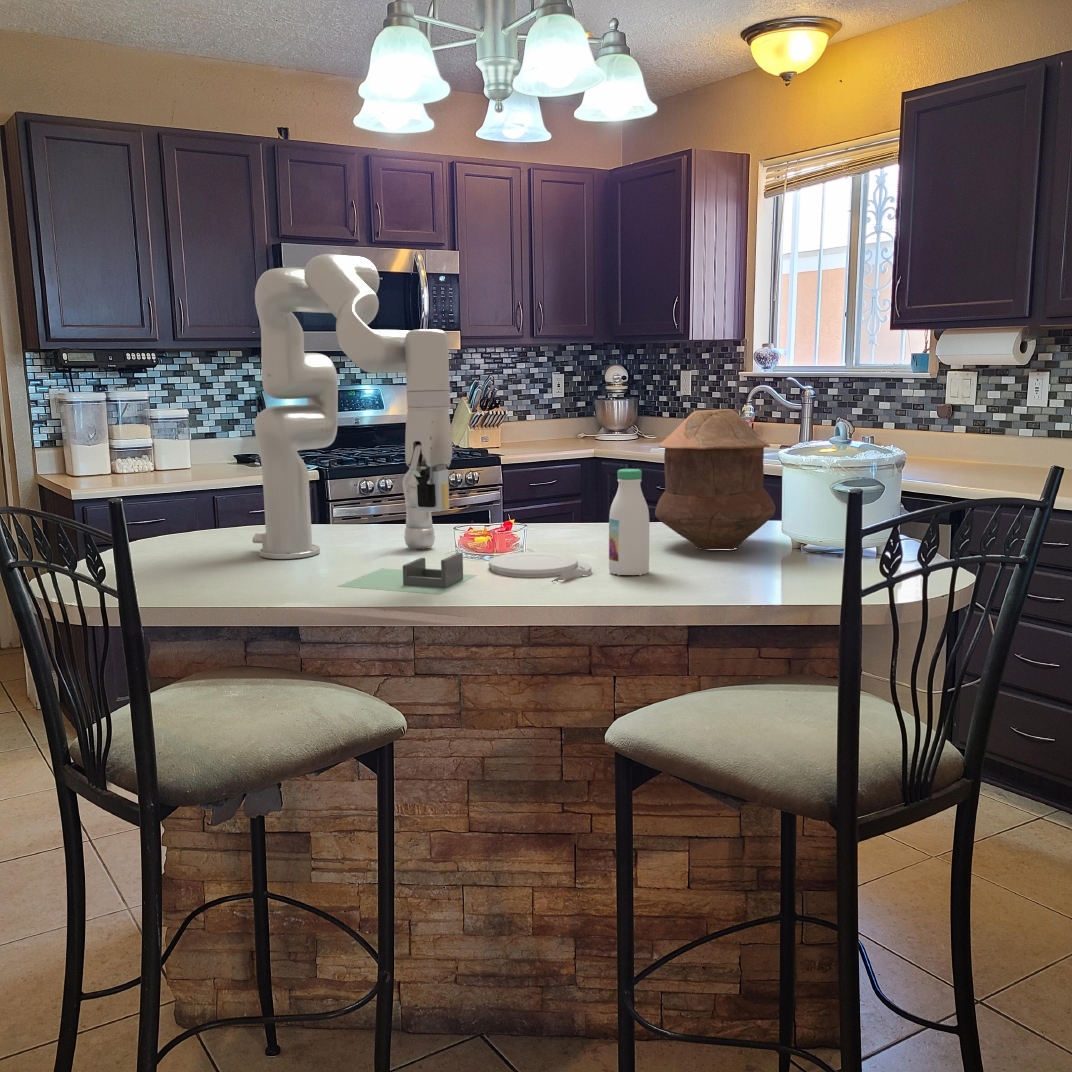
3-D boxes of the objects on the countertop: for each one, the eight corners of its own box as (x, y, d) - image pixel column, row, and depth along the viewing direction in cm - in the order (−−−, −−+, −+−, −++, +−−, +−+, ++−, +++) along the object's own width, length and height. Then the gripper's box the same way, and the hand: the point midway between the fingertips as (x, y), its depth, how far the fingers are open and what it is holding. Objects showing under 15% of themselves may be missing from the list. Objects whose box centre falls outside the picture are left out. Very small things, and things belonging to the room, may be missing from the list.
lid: (601, 582, 185) (601, 566, 184) (495, 587, 181) (494, 571, 181) (581, 564, 201) (581, 549, 201) (483, 568, 198) (483, 553, 197)
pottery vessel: (778, 561, 200) (783, 412, 195) (651, 558, 205) (652, 412, 200) (770, 538, 226) (775, 405, 220) (657, 536, 230) (659, 406, 225)
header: (403, 585, 177) (402, 557, 176) (422, 576, 184) (421, 550, 183) (445, 588, 174) (445, 560, 173) (463, 579, 181) (462, 552, 180)
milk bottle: (652, 569, 194) (654, 468, 190) (643, 578, 186) (644, 472, 183) (614, 567, 196) (614, 466, 193) (604, 575, 189) (604, 471, 185)
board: (338, 592, 177) (338, 586, 177) (382, 574, 192) (381, 568, 192) (439, 601, 170) (439, 594, 170) (476, 581, 185) (476, 575, 185)
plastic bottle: (430, 552, 214) (427, 459, 210) (400, 551, 215) (397, 459, 212) (439, 546, 220) (436, 456, 217) (409, 545, 221) (407, 456, 218)
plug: (416, 510, 175) (414, 465, 174) (426, 507, 179) (425, 463, 178) (442, 511, 174) (440, 466, 172) (452, 508, 177) (450, 463, 176)
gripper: (430, 400, 182) (434, 498, 185) (386, 403, 167) (391, 511, 170) (467, 399, 180) (471, 499, 183) (426, 403, 164) (431, 512, 167)
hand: (432, 504), depth 176 cm, fingers closed on plug, 4 cm apart
